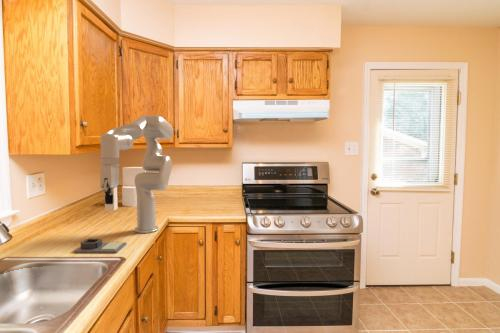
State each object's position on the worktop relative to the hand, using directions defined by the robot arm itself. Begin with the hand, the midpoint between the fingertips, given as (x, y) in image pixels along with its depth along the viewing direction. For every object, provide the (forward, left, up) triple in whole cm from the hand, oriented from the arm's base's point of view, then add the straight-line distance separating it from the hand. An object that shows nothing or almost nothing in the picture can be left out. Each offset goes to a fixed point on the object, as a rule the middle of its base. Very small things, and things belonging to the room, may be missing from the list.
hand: (111, 202), depth 147 cm
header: (0, -5, -21) cm, 22 cm away
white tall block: (-105, -25, -21) cm, 110 cm away
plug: (0, 0, -3) cm, 3 cm away
